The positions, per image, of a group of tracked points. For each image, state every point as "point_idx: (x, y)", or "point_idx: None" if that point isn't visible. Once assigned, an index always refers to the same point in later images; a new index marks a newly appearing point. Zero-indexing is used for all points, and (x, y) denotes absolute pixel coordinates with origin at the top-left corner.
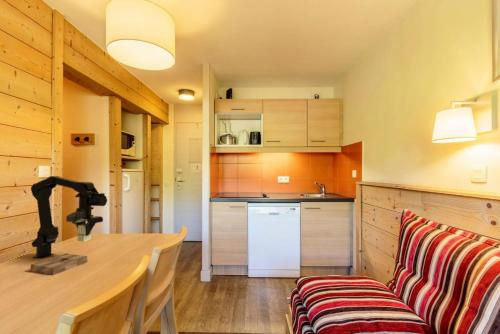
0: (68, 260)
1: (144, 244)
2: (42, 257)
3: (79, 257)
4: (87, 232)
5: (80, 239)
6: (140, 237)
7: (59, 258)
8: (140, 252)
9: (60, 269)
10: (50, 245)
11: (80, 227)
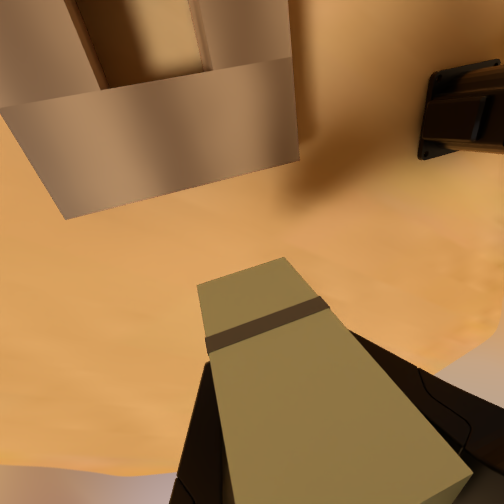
0: (44, 41)
1: (177, 461)
2: (435, 82)
3: (78, 162)
4: (194, 416)
5: (248, 281)
6: None
7: (207, 40)
8: (46, 441)
9: None
10: (496, 137)
11: (353, 452)
